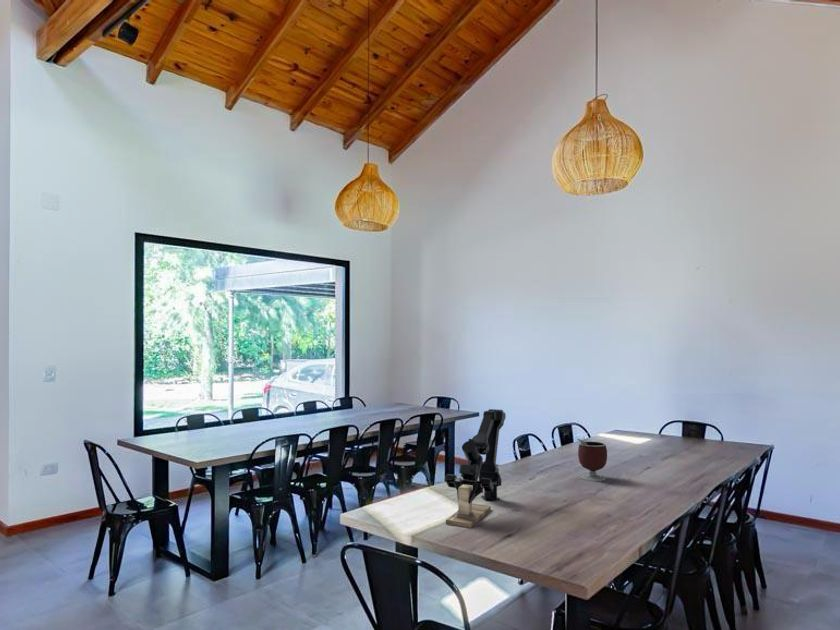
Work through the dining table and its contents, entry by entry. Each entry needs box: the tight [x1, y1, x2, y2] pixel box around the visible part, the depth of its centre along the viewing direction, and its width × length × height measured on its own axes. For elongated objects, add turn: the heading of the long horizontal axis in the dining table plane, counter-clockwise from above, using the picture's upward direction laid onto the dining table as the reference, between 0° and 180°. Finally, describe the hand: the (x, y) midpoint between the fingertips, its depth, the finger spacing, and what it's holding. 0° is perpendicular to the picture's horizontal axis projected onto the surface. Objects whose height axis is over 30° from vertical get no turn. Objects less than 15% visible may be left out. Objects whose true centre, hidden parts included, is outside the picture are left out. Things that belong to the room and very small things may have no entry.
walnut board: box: [445, 503, 492, 528], centre depth 222 cm, size 24×10×2 cm, turn 155°
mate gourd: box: [576, 438, 608, 482], centre depth 282 cm, size 16×14×20 cm
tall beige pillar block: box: [457, 485, 474, 518], centre depth 218 cm, size 5×5×11 cm
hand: (463, 502), depth 217 cm, fingers closed on tall beige pillar block, 4 cm apart
